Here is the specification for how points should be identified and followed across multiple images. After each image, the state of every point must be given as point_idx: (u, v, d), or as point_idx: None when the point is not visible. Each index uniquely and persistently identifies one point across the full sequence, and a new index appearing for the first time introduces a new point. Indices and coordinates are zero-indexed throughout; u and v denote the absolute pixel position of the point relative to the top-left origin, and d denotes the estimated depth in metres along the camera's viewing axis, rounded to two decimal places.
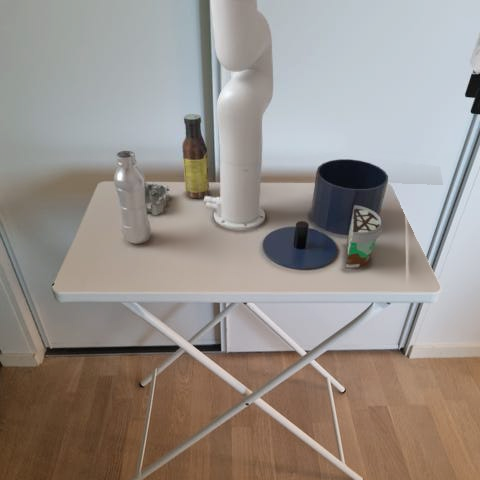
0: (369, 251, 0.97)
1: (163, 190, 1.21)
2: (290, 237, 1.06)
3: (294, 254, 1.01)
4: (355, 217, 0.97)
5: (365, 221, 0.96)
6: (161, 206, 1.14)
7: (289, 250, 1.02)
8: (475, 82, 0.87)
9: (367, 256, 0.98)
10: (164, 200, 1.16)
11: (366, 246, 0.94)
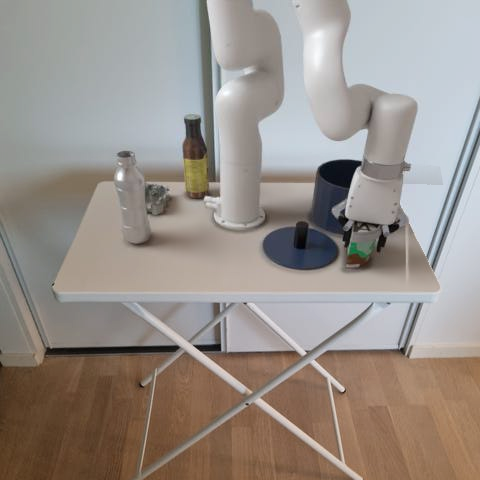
0: (369, 251, 0.97)
1: (163, 190, 1.21)
2: (290, 237, 1.06)
3: (294, 254, 1.01)
4: None
5: None
6: (161, 206, 1.14)
7: (289, 250, 1.02)
8: (379, 236, 0.98)
9: (367, 256, 0.98)
10: (164, 200, 1.16)
11: (366, 245, 0.94)
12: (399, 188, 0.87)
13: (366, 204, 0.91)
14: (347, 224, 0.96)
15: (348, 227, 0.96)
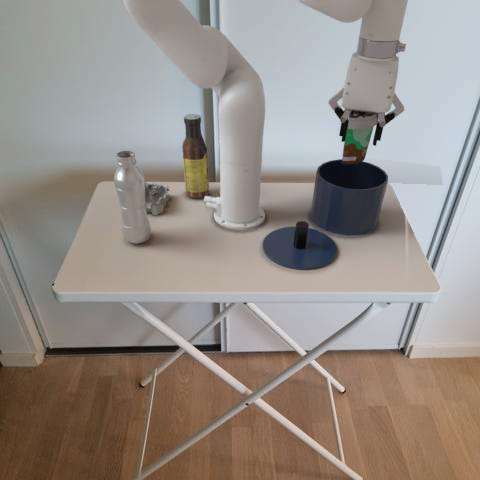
0: (365, 143, 0.98)
1: (163, 190, 1.21)
2: (290, 237, 1.06)
3: (294, 254, 1.01)
4: (352, 110, 0.99)
5: (361, 113, 0.98)
6: (161, 206, 1.14)
7: (289, 250, 1.02)
8: None
9: (364, 148, 0.99)
10: (164, 200, 1.16)
11: (362, 135, 0.96)
12: (394, 69, 0.89)
13: (362, 89, 0.92)
14: (344, 115, 0.97)
15: (345, 118, 0.98)
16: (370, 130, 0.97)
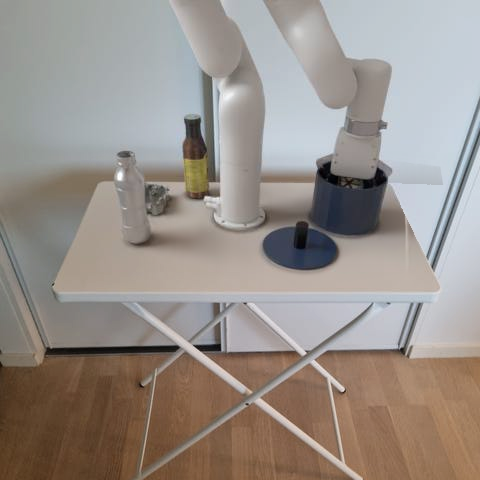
0: None
1: (163, 190, 1.21)
2: (290, 237, 1.06)
3: (294, 254, 1.01)
4: (340, 178, 1.09)
5: (348, 181, 1.08)
6: (161, 206, 1.14)
7: (289, 250, 1.02)
8: None
9: None
10: (164, 200, 1.16)
11: None
12: (377, 144, 0.99)
13: (349, 160, 1.02)
14: (327, 175, 1.07)
15: (328, 178, 1.07)
16: None
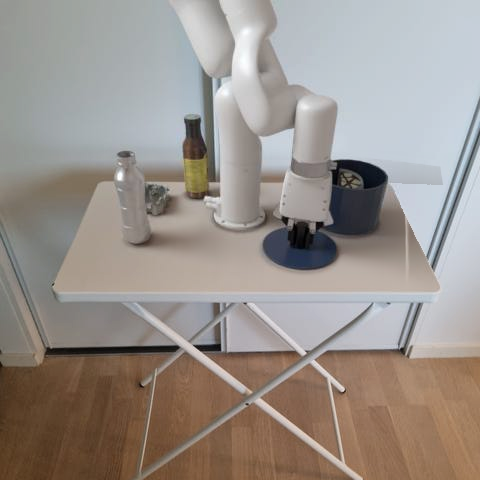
0: None
1: (163, 190, 1.21)
2: None
3: (294, 254, 1.01)
4: (340, 178, 1.09)
5: (348, 181, 1.08)
6: (161, 206, 1.14)
7: (289, 250, 1.02)
8: None
9: None
10: (164, 200, 1.16)
11: None
12: (327, 186, 0.91)
13: (297, 201, 0.94)
14: (290, 224, 0.99)
15: (291, 227, 0.99)
16: None
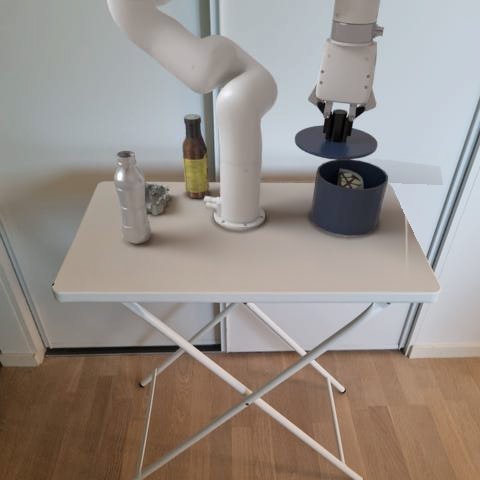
0: None
1: (163, 190, 1.21)
2: (325, 133, 0.96)
3: (330, 146, 0.91)
4: (340, 178, 1.09)
5: (348, 181, 1.08)
6: (161, 206, 1.14)
7: (324, 143, 0.92)
8: None
9: None
10: (164, 200, 1.16)
11: None
12: (371, 56, 0.81)
13: (337, 78, 0.84)
14: (327, 110, 0.89)
15: (328, 114, 0.89)
16: None
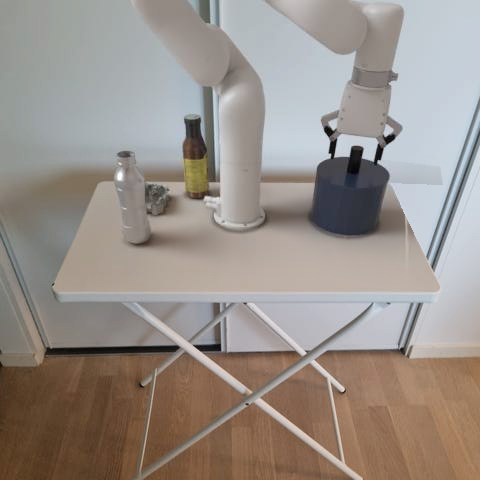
0: None
1: (163, 190, 1.21)
2: (342, 165, 1.08)
3: (349, 177, 1.03)
4: None
5: None
6: (161, 206, 1.14)
7: (343, 174, 1.05)
8: (376, 149, 1.02)
9: None
10: (164, 200, 1.16)
11: None
12: (387, 98, 0.93)
13: (356, 115, 0.96)
14: (333, 134, 1.00)
15: (334, 137, 1.01)
16: None
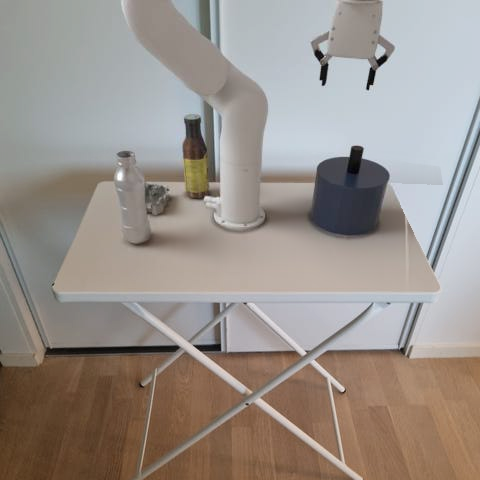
0: None
1: (163, 190, 1.21)
2: (342, 165, 1.08)
3: (349, 177, 1.03)
4: None
5: None
6: (161, 206, 1.14)
7: (343, 174, 1.05)
8: None
9: None
10: (164, 200, 1.16)
11: None
12: (378, 13, 0.90)
13: (347, 34, 0.93)
14: (323, 57, 0.98)
15: (324, 61, 0.98)
16: None
